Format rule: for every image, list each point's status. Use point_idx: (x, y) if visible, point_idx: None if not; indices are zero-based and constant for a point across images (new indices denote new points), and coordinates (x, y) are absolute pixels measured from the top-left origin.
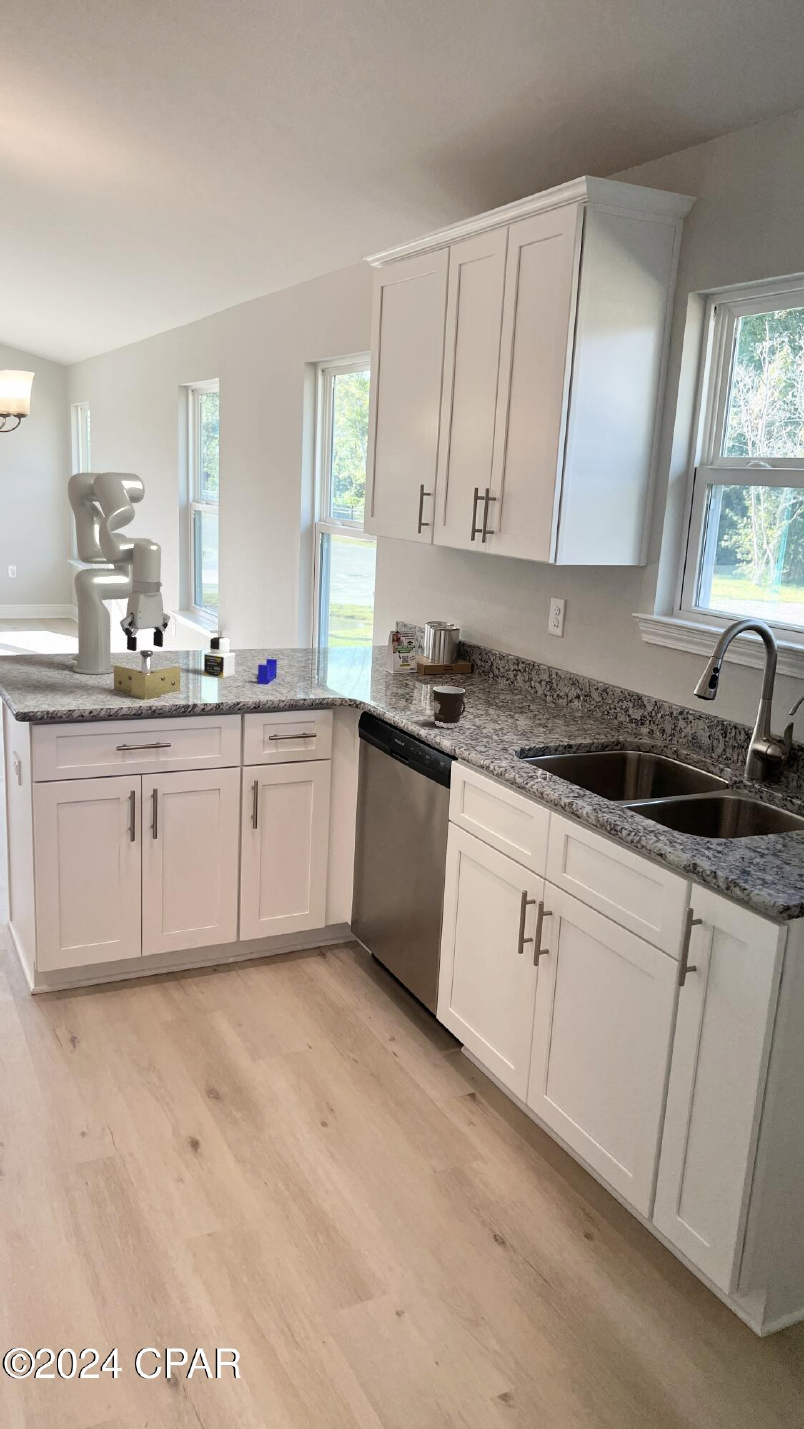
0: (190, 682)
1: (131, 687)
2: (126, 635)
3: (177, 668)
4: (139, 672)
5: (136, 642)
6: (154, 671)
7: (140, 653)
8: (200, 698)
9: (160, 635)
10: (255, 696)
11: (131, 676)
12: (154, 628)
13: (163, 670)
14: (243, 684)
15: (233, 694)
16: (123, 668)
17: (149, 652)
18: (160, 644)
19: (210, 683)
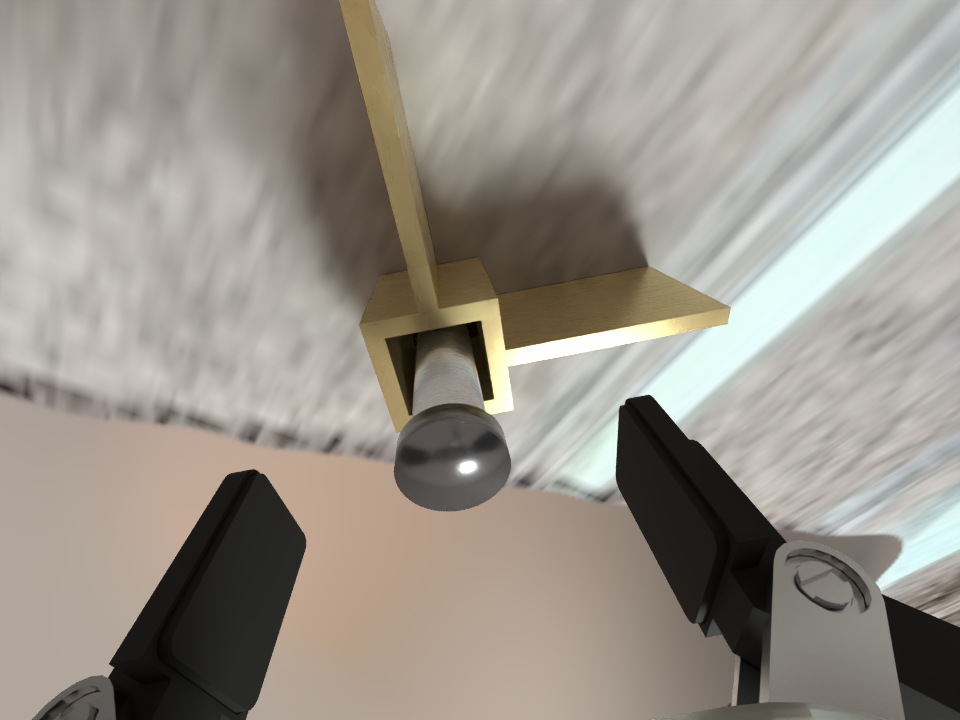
0: (849, 125)
1: (374, 289)
2: (82, 694)
3: (697, 327)
4: (418, 329)
5: (276, 632)
6: (503, 370)
7: (397, 447)
8: (602, 425)
9: (680, 600)
10: (757, 469)
11: (364, 312)
12: (769, 630)
13: (581, 349)
14: (933, 303)
15: (738, 422)
16: (375, 139)
17: (450, 508)
18: (625, 500)
19: (880, 208)
